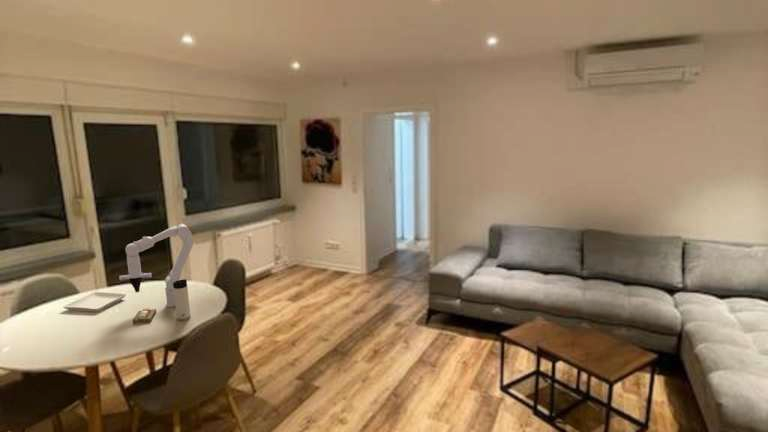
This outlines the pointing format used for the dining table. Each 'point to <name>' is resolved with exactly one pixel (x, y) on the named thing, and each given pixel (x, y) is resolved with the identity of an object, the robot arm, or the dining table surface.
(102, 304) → the salad plate
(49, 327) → the dining table surface
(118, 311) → the dining table surface
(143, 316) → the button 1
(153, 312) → the panel
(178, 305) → the travel mug
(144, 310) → the button
